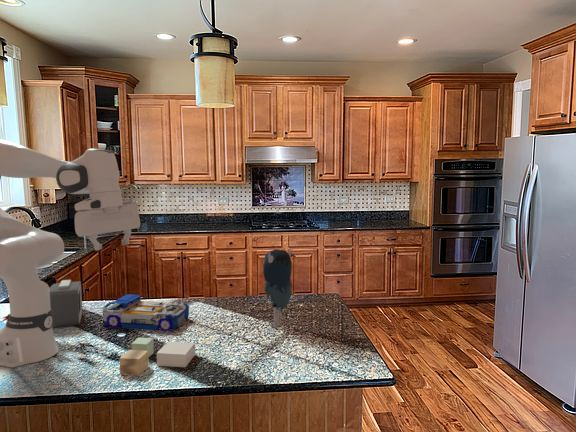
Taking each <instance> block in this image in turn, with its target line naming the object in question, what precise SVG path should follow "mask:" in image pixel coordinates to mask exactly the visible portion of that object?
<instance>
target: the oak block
mask: <svg viewBox="0 0 576 432" xmlns="http://www.w3.org/2000/svg"><path fill="white" fill-rule="evenodd" d="M147 368H149V358H148V351H144V350H132V349H128V350H127V351H126V352H125V353H124V354H123V355H121V356H120V357H119V375H128V376H129V375H130V376H131V375H132V376H141V374H143V372H144V371H146V370H147Z"/></svg>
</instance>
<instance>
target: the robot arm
mask: <svg viewBox="0 0 576 432" xmlns="http://www.w3.org/2000/svg"><path fill="white" fill-rule="evenodd" d="M2 177H6V178H12V179H13V178H14V179H31V178H32V179H33V178H34V179H35V178H52V179H56V184H57V185H58V188H59V189H60V191H62V192H63V193H65V194H71V195H85V194H86V195H88V194H89V197H88V198H86V199H83V200H82V201H81V200H80V201H78V202H77V203H74V210H75V211H76V212H75V214H74V230H75V234H76V235H77V237H79V238H85V237H88V239H89V241H90V242H91V243H92V245H93V247H94V248H93V249H94V251H101V250H103V244H102V243H100V242H99V241H98V240H97V239H99V238H98V237H99V236H98V235H103V234H109V233H115V232H123V233H122V234H124V235H123V239H122V238H121V245H122V246H128V245H129V244H130V236H132V235H131V234H132V230H135V229H139V228H140V227H141V219H140V215H139V211H138V209H137V208H138V206H137V205H138V204H137V203H136V201H134V200H132V199H129V200H128V199H127V200H123V197H122V188H121V187H120V183H119V182H120V180H119V179H120V171H119V166H118V161H117V158H116V155H115V153H114V152H113V151H112V150H110V149H102V148H101V149H100V148H88V149H86V150H85V152H83V154H82V155H81V156H79V157H77V158H76V159H74V160H71V161H68V160H63V159H60V158H56V157H52V156H50V155H47V154H46V153H42V152H39V151H37V150H34V149H31V148H29V147H28V146H27V147H26V146H24V145H22V144H19V143H16V142H12V141H9V140H5V139H1V138H0V180H1V178H2ZM64 243H65V242H64V240H63V239H62V237H61V236H60V235H59V234H56V233H54V232H49V231H46V230H43V229H40V228H37V227H35V226H32V225H30V224H28V223H26V222H23V221H21V220H19V219H17V218H15V217H14V216H12V215H11V214H9V213H8V212H6V211H5V210H4V209H2V208H1V207H0V278H1V280H2V281H3V283H4V285H5V287H6V290H7V293H8V301H9V310H10V311H9V313H8V314H7V315H5V316H4V317H2V322H4V321H6V322H5V325H4V326H3V327H2V328H1V329H0V367H7V368H17V367H20V366H23V365H27V364H34V363H37V362H41V361H42V362H43V361H45V360H47V359H50V358H51V357H52V358H53V356H55V355H57V353H58V352H59V347H58V344H57V342H56V338H55V335H54V329H53V328H54V327H52V324H53V314H52V309H51V306H50V286H49V284H48V283H47V282H45V281H43V280H41V279H40V278H39V275H38V272H37V268H40V267H44V266H48V265H50V264H53V263H55V261H57V260H59V259H60V258H61V257H62V256H63V254H64V253H65V252H64V251H65V244H64Z"/></svg>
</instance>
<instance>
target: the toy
mask: <svg viewBox="0 0 576 432" xmlns="http://www.w3.org/2000/svg"><path fill="white" fill-rule="evenodd" d="M291 251H292V250H291V249H289V250H288V251H287V250H285V249H279V248H276V249H273V250H269V252H267V253H265V255H264V262H263V267H262V268H263V269H262V272H263V273H262V274H263V278H264V282H265V283H264V289H263V290H264V292H265V294H266V297H267V299H266V300H267V301H268V300H269V298H270V306H271V307H273V313H274V317H273V319H274V320H273V322H272V321H271V323H270V327H272V328H273V329H274V328H275V329H278V328H279V327H282V324H281V323H282V322H281V321H282V316H283V315H282V312H284V309H285V308H286V310H289V309H288V304H289V303H290V300H291V297H292V296H293V293H292V287H293V286H292V285H293V283H292V279H291V278H292V277H291V276H292V271H293V270H292V269H293V266H292V265H293V263H292V259H291V257H292V252H291Z"/></svg>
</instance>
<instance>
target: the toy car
mask: <svg viewBox="0 0 576 432" xmlns="http://www.w3.org/2000/svg"><path fill="white" fill-rule="evenodd" d="M141 297H142V295H139V294H129V293H128V294H126V293H125V294H124V295H123V296H122V297H119V298H118V299H115V300H113V301H111V302H109V303H107V304H106V305H104V306H103V307H102V319H103V320H102V326H103V327H109V328H116V329H117V328H119V327H121V329H129V330H144V331H146V330H147V331H156V330H158V331H159V330H160V331H161V332H169V331H171V330H172V332H175V331H177V330H178V329H179V328H180V327H181V326H183V325H184V324H185V323H186V322H187V321H188V320H189V319H190V318H189V316H190V309H189V308H190V306H189V305H188V304H187V303H184V302H182V301H180V300H177V299H176V298H175V299H174V298H173V299H169V300H168V301H166V302H163V301H161V302H154V301H153V302H152V301H142V298H141ZM159 328H160V329H159Z"/></svg>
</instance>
